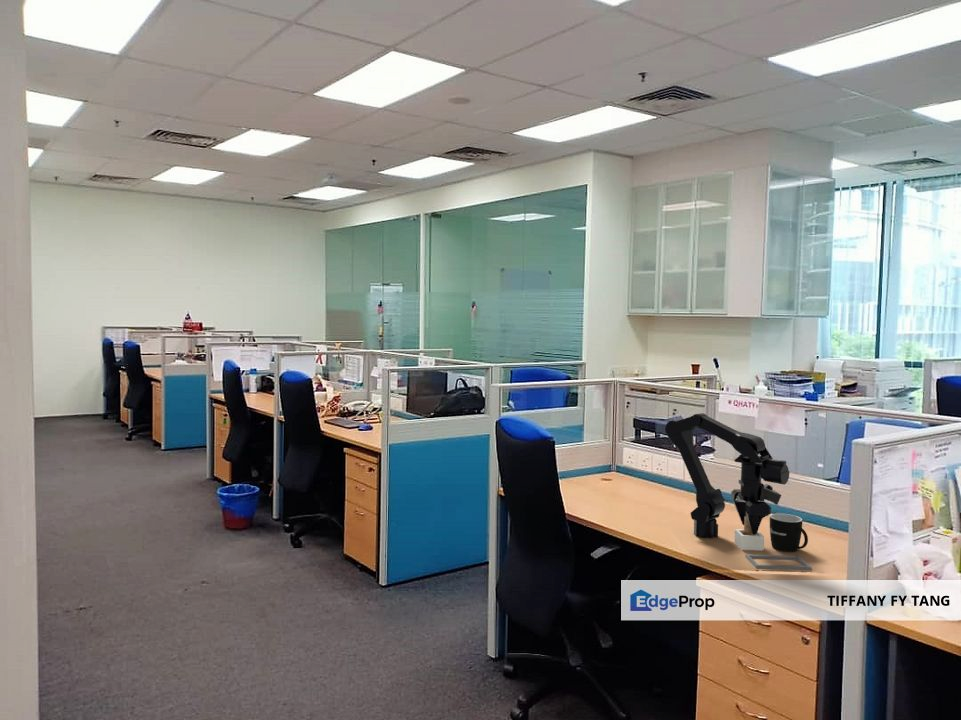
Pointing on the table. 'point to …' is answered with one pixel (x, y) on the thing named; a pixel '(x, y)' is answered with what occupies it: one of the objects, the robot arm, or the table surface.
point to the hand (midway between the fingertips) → (749, 529)
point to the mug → (786, 532)
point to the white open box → (749, 540)
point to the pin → (747, 527)
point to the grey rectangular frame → (805, 567)
